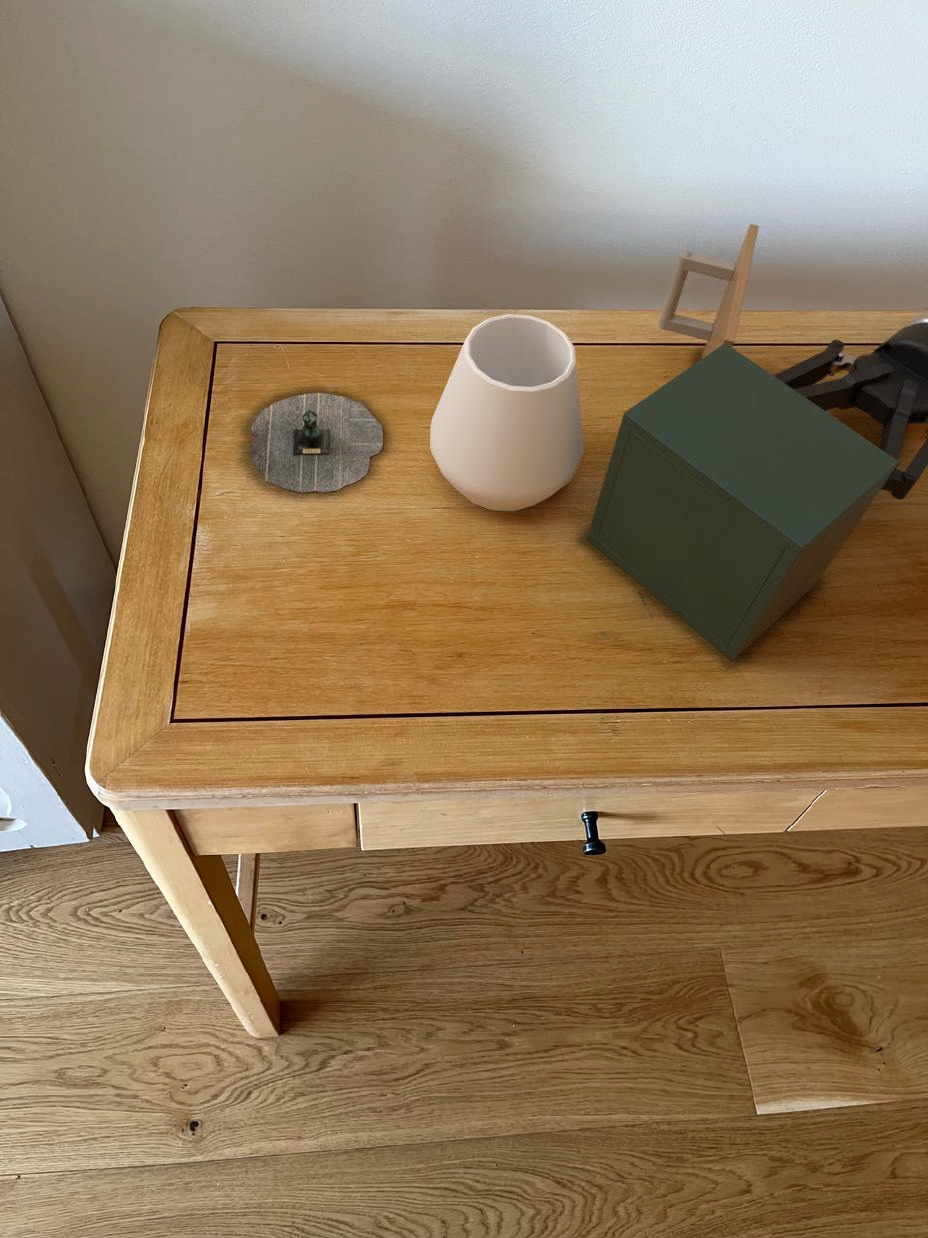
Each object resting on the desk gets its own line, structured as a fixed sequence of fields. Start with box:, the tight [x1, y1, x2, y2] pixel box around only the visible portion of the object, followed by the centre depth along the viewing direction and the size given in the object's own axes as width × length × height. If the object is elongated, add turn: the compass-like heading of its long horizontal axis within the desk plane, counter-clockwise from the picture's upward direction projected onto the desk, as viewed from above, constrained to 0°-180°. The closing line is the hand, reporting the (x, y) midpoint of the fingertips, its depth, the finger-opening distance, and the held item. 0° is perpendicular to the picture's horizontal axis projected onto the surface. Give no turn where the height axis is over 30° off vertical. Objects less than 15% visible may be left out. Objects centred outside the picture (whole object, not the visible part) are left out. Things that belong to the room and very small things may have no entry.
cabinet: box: [586, 343, 900, 662], centre depth 73 cm, size 12×16×15 cm
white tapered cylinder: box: [429, 313, 585, 512], centre depth 77 cm, size 13×13×14 cm
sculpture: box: [249, 392, 384, 494], centre depth 84 cm, size 12×9×8 cm
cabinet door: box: [658, 223, 760, 360], centre depth 83 cm, size 6×16×15 cm, turn 163°
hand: (782, 481), depth 76 cm, fingers open, 8 cm apart
